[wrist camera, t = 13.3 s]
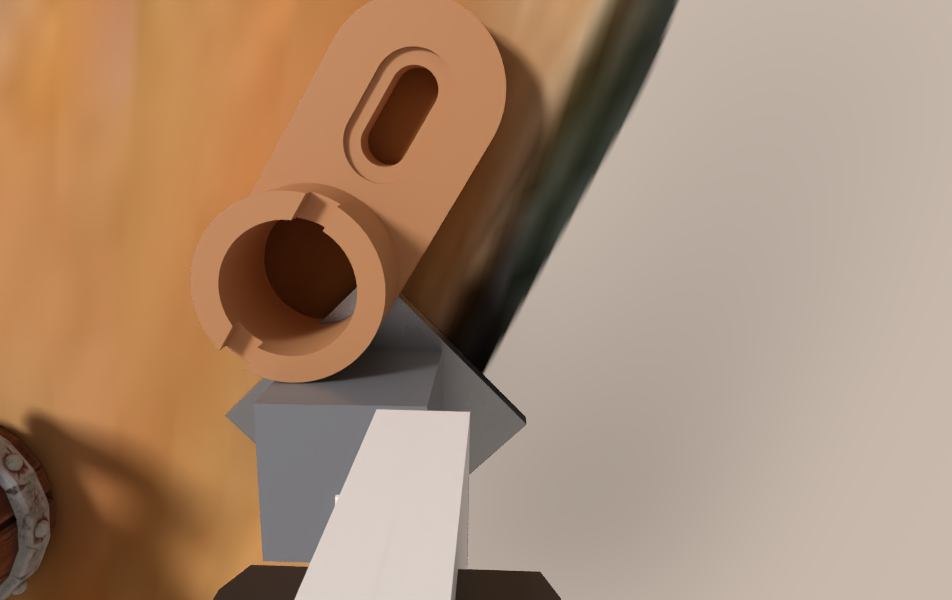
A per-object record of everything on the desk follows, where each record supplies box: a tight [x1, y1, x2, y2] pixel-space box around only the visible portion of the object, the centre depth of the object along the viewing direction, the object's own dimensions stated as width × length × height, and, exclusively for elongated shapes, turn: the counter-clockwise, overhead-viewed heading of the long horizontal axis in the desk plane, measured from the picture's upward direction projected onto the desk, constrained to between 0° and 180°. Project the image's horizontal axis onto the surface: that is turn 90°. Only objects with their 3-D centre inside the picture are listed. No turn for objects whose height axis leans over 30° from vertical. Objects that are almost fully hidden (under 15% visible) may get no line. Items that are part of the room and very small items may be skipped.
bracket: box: [190, 0, 506, 383], centre depth 35 cm, size 18×8×7 cm, turn 149°
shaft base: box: [225, 287, 526, 474], centre depth 37 cm, size 11×11×6 cm
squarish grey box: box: [254, 350, 442, 562], centre depth 35 cm, size 7×7×8 cm
